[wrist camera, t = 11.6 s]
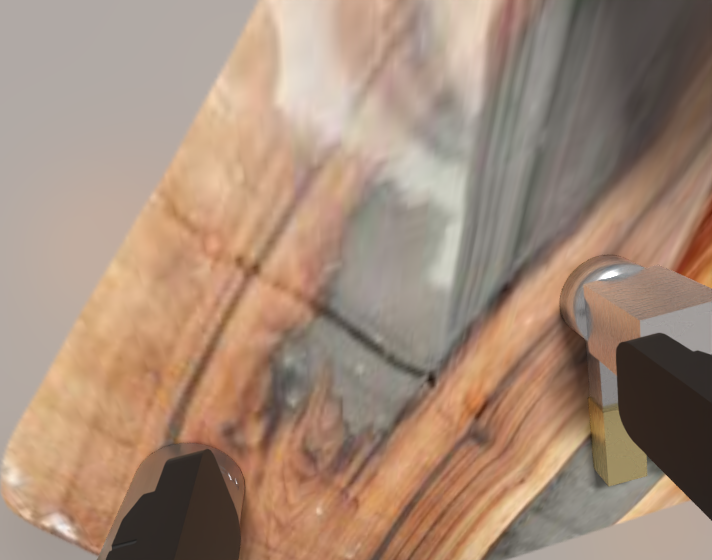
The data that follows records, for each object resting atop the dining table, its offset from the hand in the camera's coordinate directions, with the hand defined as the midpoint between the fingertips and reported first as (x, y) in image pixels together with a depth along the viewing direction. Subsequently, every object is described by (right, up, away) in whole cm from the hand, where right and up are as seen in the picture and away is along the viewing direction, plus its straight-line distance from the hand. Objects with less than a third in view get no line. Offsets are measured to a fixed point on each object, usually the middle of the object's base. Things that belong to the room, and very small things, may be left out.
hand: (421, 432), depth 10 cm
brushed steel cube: (+19, +1, +29) cm, 34 cm away
